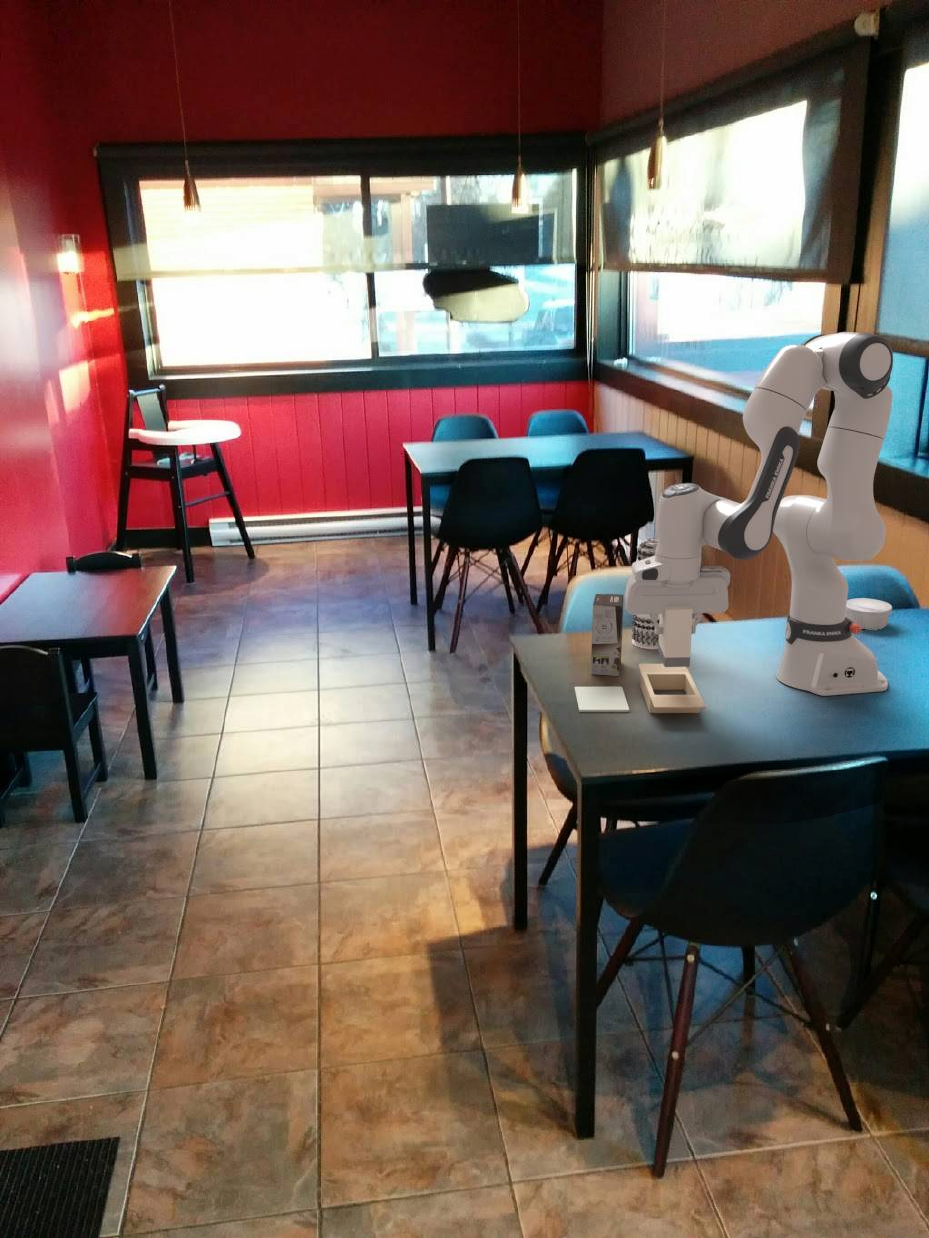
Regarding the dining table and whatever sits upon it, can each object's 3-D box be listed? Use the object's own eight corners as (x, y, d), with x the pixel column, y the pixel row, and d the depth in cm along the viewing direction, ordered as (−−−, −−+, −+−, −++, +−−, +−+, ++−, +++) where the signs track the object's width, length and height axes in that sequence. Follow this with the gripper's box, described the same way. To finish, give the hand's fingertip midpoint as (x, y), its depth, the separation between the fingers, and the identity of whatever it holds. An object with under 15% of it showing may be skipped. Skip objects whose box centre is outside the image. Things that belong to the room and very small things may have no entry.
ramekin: (846, 631, 244) (848, 610, 242) (837, 616, 254) (840, 597, 253) (894, 633, 242) (897, 612, 240) (884, 618, 253) (886, 598, 251)
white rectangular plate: (621, 688, 211) (621, 686, 211) (629, 711, 200) (629, 709, 200) (574, 688, 211) (574, 686, 211) (579, 712, 200) (579, 709, 200)
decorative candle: (623, 645, 236) (627, 542, 228) (640, 634, 243) (644, 534, 235) (659, 652, 231) (664, 548, 223) (675, 641, 239) (681, 539, 231)
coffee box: (619, 676, 218) (622, 606, 213) (590, 674, 219) (592, 604, 214) (621, 661, 226) (624, 593, 221) (593, 660, 227) (595, 592, 222)
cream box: (682, 652, 206) (685, 596, 202) (689, 666, 199) (692, 609, 195) (658, 652, 206) (660, 597, 202) (664, 667, 199) (666, 610, 195)
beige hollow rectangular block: (683, 678, 216) (684, 663, 215) (705, 723, 194) (706, 706, 193) (637, 678, 216) (637, 663, 215) (653, 723, 194) (654, 706, 193)
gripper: (727, 561, 199) (723, 626, 203) (624, 563, 199) (622, 628, 204) (734, 570, 193) (730, 637, 197) (628, 572, 194) (626, 639, 198)
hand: (674, 633), depth 201 cm, fingers closed on cream box, 5 cm apart
